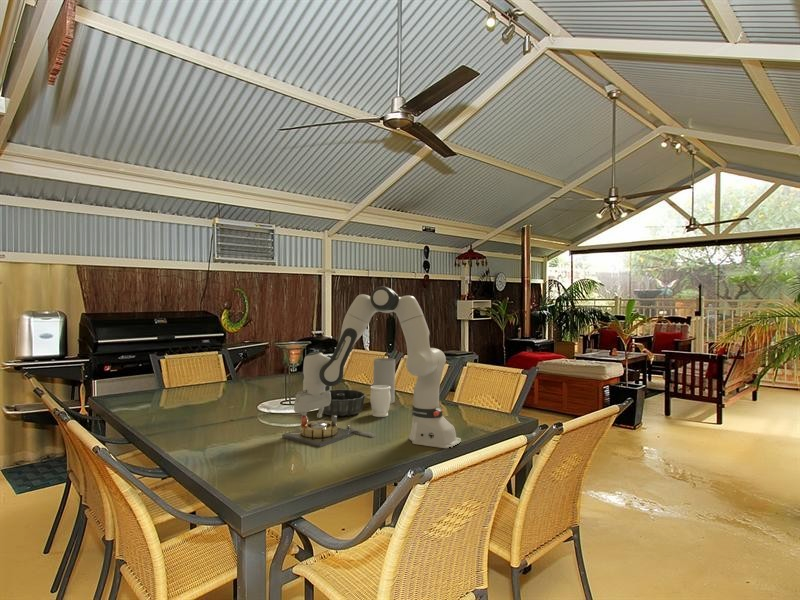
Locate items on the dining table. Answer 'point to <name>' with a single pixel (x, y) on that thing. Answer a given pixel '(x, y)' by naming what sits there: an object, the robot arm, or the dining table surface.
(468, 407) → the dining table surface
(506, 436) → the dining table surface
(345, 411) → the bundt pan
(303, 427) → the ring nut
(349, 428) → the spanner
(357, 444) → the dining table surface
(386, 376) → the cylinder vase
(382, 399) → the jar
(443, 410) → the robot arm
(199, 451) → the dining table surface
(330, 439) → the cap plate
